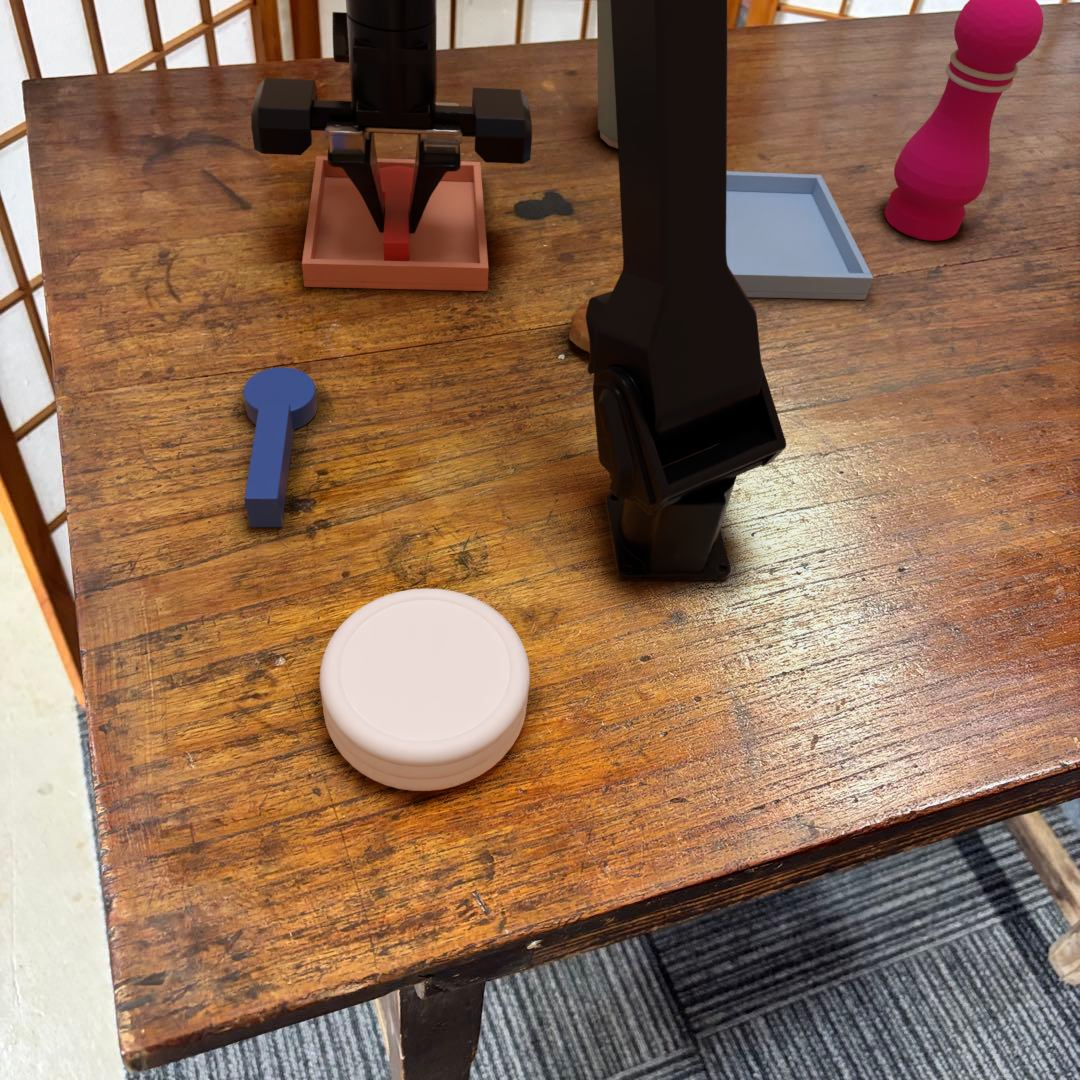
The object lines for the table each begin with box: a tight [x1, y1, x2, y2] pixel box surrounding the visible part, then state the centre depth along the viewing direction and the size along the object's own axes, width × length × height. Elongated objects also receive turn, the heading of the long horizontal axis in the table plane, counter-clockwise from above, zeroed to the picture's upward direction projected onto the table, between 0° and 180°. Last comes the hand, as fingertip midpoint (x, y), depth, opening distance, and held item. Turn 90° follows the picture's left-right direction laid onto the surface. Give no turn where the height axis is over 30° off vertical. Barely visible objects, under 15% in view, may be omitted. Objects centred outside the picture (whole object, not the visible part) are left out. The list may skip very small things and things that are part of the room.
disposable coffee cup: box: [596, 0, 618, 150], centre depth 87 cm, size 11×11×15 cm
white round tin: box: [318, 587, 531, 792], centre depth 50 cm, size 10×10×4 cm
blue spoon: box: [242, 366, 318, 528], centre depth 61 cm, size 12×4×2 cm, turn 4°
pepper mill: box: [884, 0, 1044, 242], centre depth 79 cm, size 7×7×20 cm
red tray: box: [301, 155, 489, 292], centre depth 78 cm, size 15×13×2 cm
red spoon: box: [379, 166, 414, 261], centre depth 78 cm, size 12×4×2 cm, turn 4°
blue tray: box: [726, 170, 874, 301], centre depth 81 cm, size 15×13×2 cm
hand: (397, 230), depth 77 cm, fingers closed
